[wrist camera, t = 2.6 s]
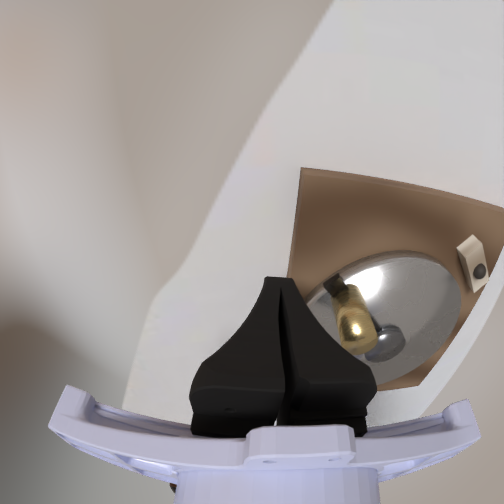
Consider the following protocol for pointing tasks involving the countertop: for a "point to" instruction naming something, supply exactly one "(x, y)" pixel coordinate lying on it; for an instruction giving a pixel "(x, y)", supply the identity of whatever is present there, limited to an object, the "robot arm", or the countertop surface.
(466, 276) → the stand
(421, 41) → the countertop surface
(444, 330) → the cam dial
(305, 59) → the countertop surface
